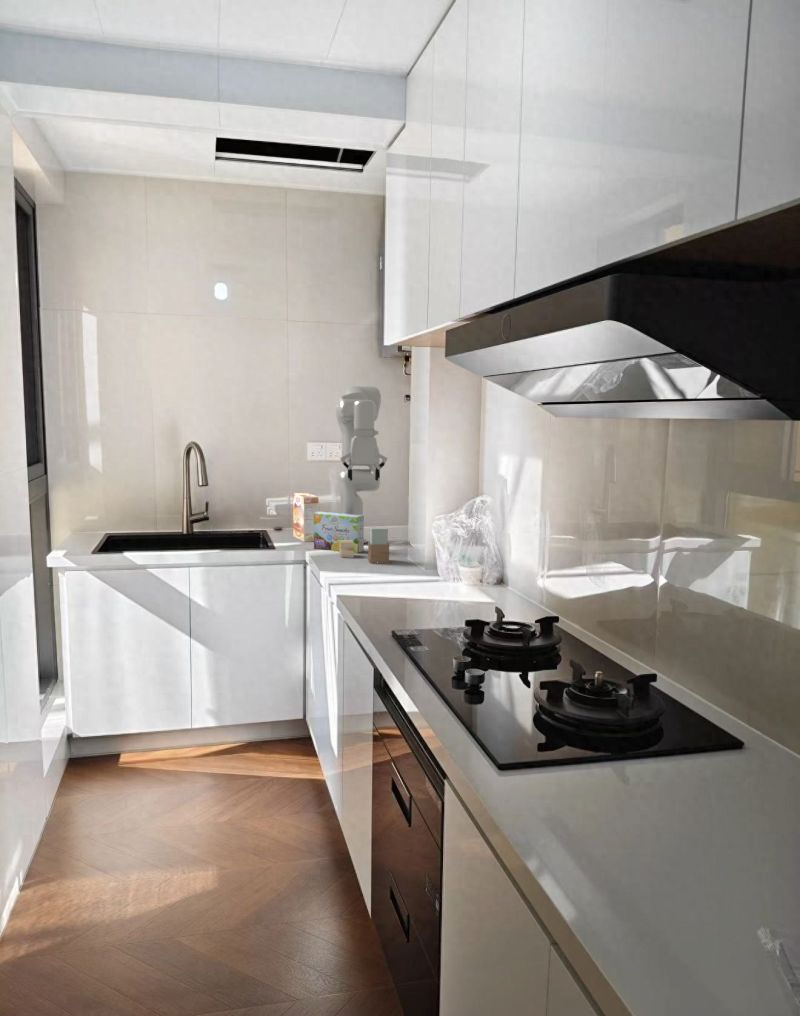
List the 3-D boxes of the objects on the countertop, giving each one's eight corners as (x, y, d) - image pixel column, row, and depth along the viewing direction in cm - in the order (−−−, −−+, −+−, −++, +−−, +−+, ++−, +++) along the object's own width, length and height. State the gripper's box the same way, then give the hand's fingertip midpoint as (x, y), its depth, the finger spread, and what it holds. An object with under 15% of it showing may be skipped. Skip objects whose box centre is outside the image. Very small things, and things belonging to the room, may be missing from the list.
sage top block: (369, 542, 318) (369, 526, 317) (385, 542, 319) (385, 526, 318) (371, 544, 312) (371, 529, 311) (387, 544, 313) (387, 528, 312)
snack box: (312, 548, 342) (312, 512, 340) (320, 546, 347) (320, 510, 345) (357, 553, 332) (357, 516, 330) (364, 551, 337) (364, 514, 335)
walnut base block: (368, 560, 319) (368, 542, 318) (386, 559, 320) (386, 541, 319) (370, 563, 312) (370, 545, 311) (388, 563, 313) (389, 544, 312)
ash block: (339, 555, 328) (339, 540, 327) (352, 555, 329) (352, 540, 328) (340, 557, 323) (340, 542, 323) (353, 557, 324) (353, 542, 323)
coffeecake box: (292, 536, 371) (292, 493, 369) (307, 536, 374) (307, 492, 372) (303, 542, 358) (303, 496, 355) (319, 541, 361) (319, 496, 358)
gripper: (385, 433, 312) (385, 479, 314) (339, 433, 310) (339, 479, 312) (388, 434, 305) (388, 481, 307) (341, 434, 302) (341, 481, 304)
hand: (363, 480), depth 309 cm, fingers open, 9 cm apart
